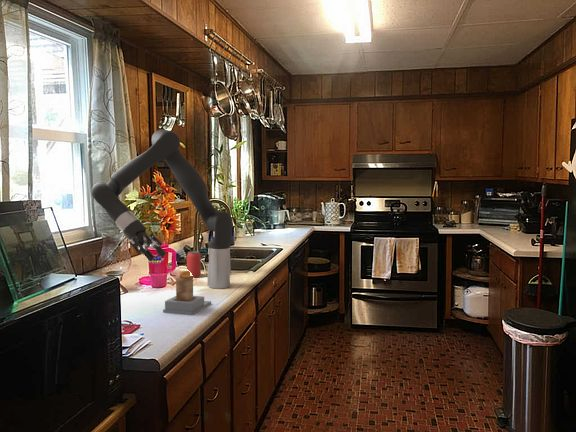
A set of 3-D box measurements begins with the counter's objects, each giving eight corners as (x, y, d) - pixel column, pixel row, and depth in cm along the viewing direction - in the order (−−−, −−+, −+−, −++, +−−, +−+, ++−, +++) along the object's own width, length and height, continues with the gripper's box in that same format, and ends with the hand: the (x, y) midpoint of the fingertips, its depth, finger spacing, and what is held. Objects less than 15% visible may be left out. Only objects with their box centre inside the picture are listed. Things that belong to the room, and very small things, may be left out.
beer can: (185, 275, 248) (185, 251, 247) (199, 274, 251) (199, 250, 250) (188, 278, 242) (187, 253, 241) (202, 277, 245) (201, 252, 244)
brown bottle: (176, 307, 187) (175, 272, 186) (182, 304, 191) (181, 270, 190) (187, 308, 185) (187, 273, 184) (193, 305, 190) (193, 271, 189)
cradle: (163, 312, 184) (162, 301, 184) (183, 301, 200) (183, 291, 199) (192, 315, 181) (192, 303, 181) (211, 303, 197) (211, 293, 196)
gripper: (125, 220, 184) (155, 254, 182) (147, 217, 198) (174, 248, 196) (113, 234, 186) (142, 268, 184) (135, 230, 200) (162, 261, 198)
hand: (158, 257), depth 190 cm, fingers open, 8 cm apart
